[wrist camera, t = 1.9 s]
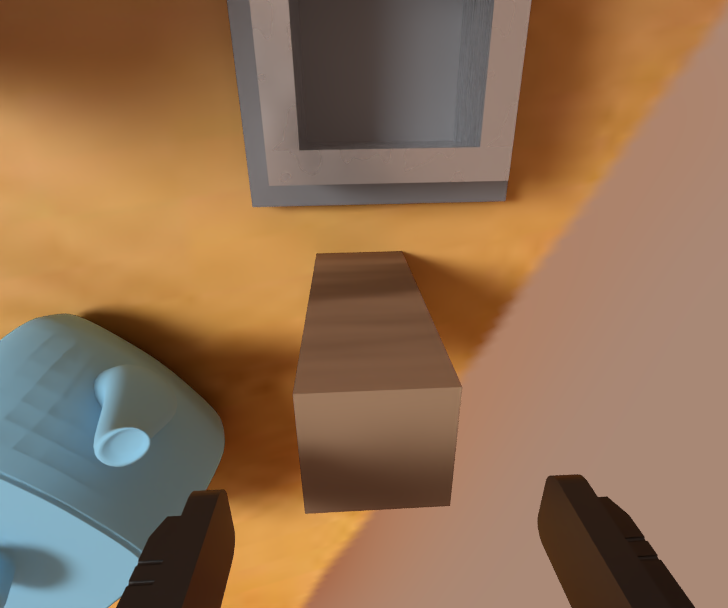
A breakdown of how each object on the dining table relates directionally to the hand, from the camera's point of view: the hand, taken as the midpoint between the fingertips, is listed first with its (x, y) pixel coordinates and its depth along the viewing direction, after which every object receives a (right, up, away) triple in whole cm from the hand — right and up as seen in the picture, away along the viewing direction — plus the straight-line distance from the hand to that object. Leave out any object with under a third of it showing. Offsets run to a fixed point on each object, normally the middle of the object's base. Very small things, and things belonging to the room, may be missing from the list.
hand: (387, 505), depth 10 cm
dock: (0, +16, +8) cm, 18 cm away
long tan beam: (-1, +6, +12) cm, 14 cm away
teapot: (-15, 0, +15) cm, 21 cm away
